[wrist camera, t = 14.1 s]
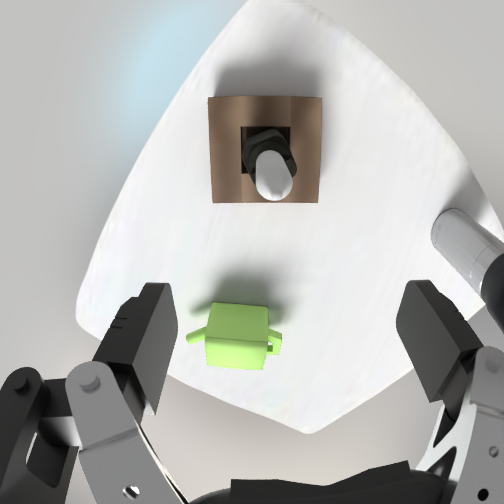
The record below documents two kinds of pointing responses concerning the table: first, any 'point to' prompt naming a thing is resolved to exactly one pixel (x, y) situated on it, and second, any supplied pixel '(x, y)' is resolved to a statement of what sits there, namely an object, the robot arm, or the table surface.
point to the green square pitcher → (237, 336)
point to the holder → (254, 120)
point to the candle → (269, 163)
